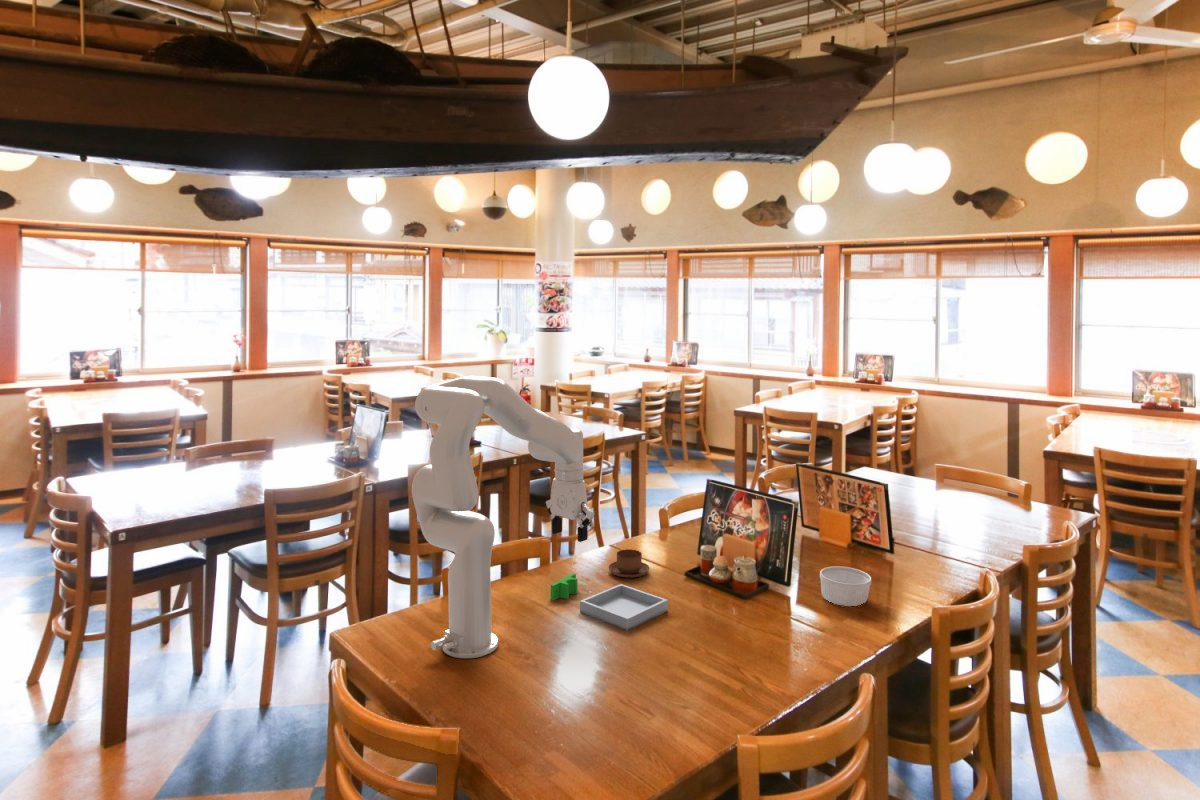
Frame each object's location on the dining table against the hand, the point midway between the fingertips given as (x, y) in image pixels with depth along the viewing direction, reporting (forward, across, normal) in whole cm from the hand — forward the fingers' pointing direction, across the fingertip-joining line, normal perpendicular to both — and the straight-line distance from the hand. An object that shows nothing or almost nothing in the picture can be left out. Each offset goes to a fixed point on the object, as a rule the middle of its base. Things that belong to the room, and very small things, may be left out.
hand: (569, 536), depth 194 cm
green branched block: (+17, -1, -1) cm, 17 cm away
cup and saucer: (+17, +1, +24) cm, 29 cm away
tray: (+16, +18, +2) cm, 24 cm away
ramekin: (+17, +56, +48) cm, 76 cm away
